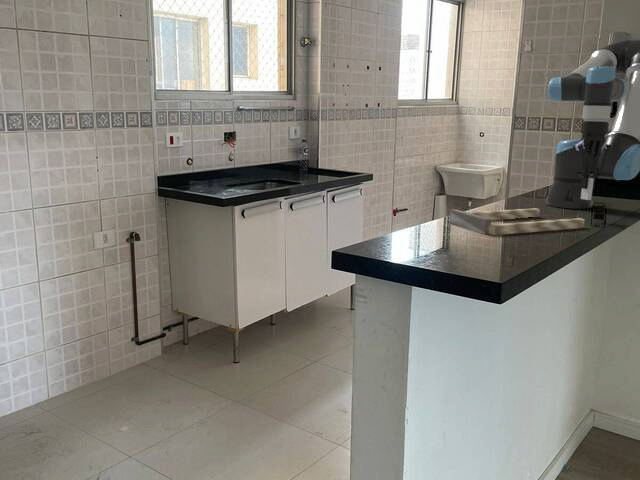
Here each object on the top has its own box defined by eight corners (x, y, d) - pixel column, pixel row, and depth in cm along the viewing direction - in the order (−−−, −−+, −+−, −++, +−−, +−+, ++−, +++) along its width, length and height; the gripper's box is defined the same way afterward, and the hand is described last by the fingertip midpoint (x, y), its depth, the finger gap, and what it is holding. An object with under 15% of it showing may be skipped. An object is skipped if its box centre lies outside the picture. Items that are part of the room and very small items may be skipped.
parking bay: (534, 215, 190) (535, 203, 189) (583, 227, 172) (585, 214, 171) (445, 222, 178) (446, 208, 177) (488, 235, 160) (489, 220, 159)
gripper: (601, 120, 185) (592, 197, 189) (569, 120, 180) (560, 198, 184) (621, 121, 178) (611, 200, 183) (588, 120, 173) (579, 201, 178)
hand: (585, 199), depth 184 cm, fingers closed
